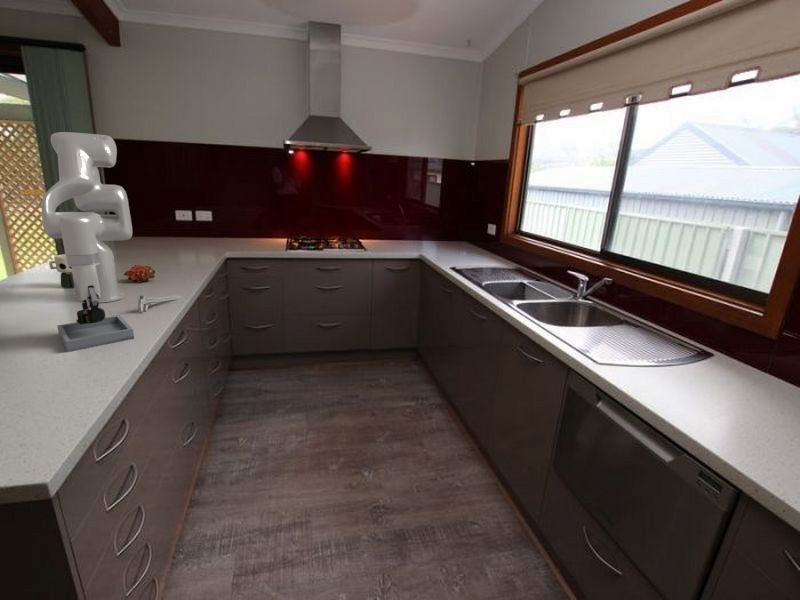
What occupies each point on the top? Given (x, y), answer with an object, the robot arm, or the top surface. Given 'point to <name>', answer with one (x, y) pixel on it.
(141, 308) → the caliper
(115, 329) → the parts tray
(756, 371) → the top surface
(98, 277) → the robot arm
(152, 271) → the dragon fruit
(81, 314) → the tape measure
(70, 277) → the character mug
